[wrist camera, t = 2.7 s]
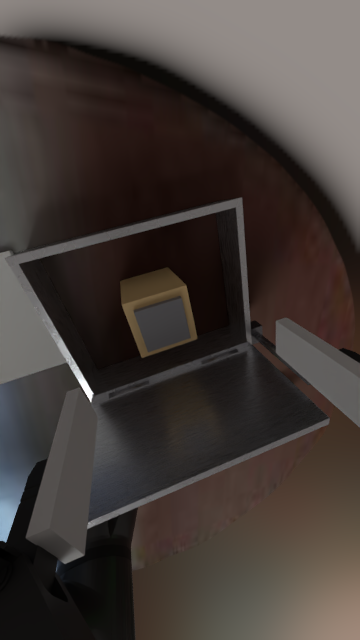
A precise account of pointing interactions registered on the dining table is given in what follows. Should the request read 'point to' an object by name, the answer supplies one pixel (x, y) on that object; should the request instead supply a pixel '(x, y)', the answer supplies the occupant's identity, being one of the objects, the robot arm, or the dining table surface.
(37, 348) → the pad
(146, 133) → the dining table surface
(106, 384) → the case
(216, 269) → the dining table surface
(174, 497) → the dining table surface
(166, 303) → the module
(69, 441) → the robot arm
